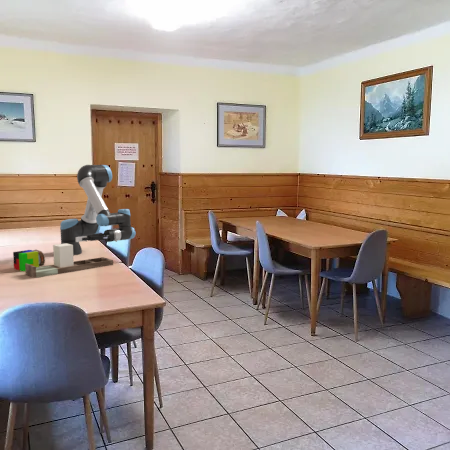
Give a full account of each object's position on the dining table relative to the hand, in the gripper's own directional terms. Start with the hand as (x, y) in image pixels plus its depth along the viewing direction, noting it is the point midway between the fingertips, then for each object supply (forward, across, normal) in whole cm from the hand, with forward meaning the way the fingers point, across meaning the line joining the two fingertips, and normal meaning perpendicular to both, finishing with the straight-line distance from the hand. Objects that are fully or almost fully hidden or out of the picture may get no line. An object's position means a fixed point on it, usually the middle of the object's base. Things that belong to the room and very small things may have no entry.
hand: (76, 239), depth 266 cm
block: (+8, +1, -14) cm, 16 cm away
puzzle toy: (+21, +21, -17) cm, 34 cm away
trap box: (+3, +1, -17) cm, 18 cm away
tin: (+11, +29, -17) cm, 35 cm away
